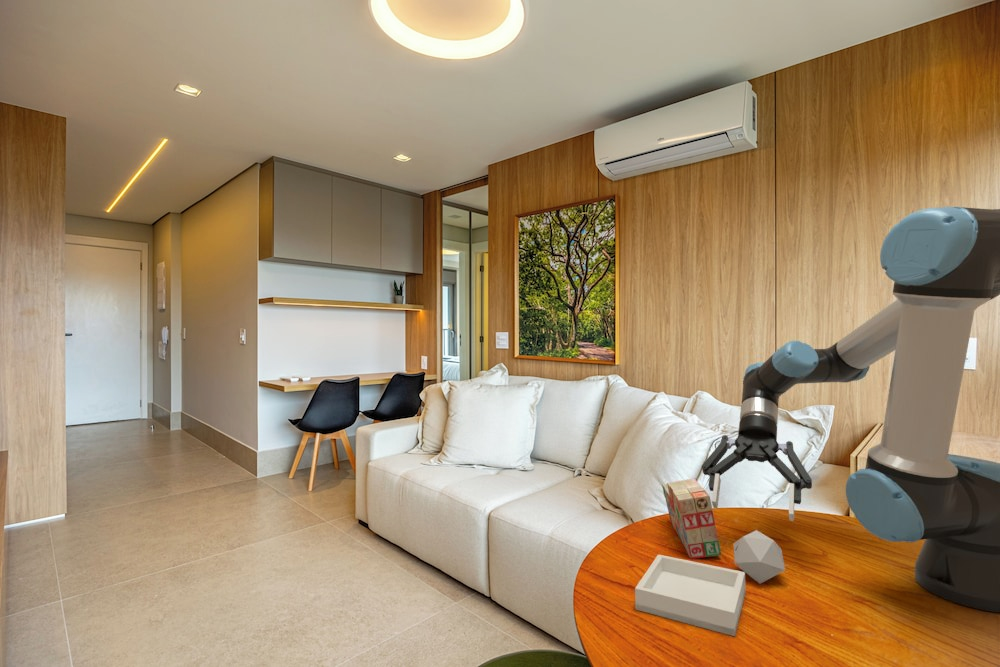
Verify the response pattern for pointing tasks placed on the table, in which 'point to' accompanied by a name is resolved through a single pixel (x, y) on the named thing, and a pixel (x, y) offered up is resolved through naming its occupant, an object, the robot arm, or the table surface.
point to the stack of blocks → (692, 517)
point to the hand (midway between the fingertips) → (751, 511)
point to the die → (758, 556)
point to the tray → (692, 593)
